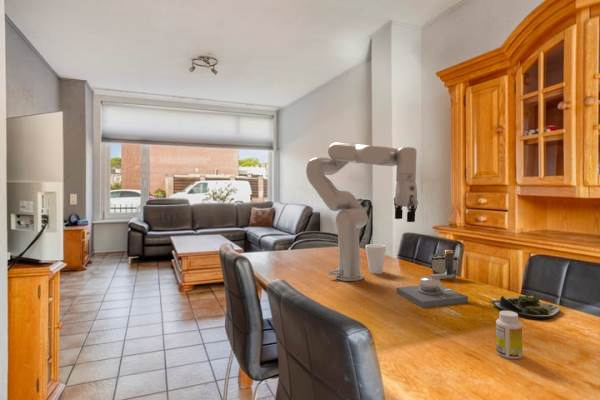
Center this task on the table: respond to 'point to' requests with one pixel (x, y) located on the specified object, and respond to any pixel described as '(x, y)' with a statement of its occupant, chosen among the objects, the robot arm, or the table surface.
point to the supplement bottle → (509, 335)
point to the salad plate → (526, 307)
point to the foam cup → (375, 257)
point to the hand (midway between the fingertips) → (404, 220)
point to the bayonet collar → (438, 275)
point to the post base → (431, 296)
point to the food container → (442, 264)
